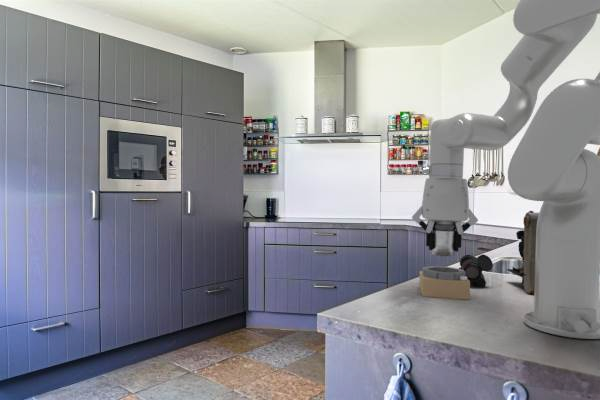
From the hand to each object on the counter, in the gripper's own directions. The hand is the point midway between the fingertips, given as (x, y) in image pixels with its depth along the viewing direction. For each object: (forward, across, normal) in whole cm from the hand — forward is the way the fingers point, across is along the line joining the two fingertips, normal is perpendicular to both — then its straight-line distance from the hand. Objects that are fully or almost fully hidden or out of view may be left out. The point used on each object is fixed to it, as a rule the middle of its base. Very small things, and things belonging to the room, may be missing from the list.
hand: (443, 249), depth 98 cm
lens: (+1, 0, 0) cm, 1 cm away
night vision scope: (+11, +10, +16) cm, 21 cm away
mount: (+10, 0, 0) cm, 10 cm away
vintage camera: (+10, +24, +12) cm, 28 cm away
